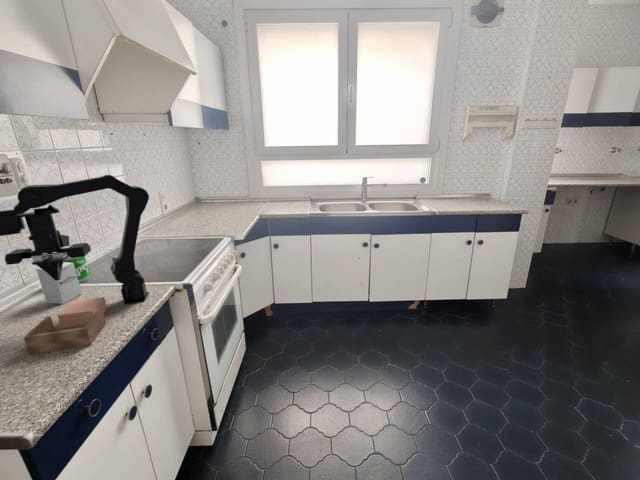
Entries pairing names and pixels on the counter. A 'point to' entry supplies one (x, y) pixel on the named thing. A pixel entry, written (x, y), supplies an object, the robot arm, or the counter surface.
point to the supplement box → (60, 284)
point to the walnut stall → (63, 335)
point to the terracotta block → (81, 311)
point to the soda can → (80, 268)
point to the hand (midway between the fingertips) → (57, 279)
